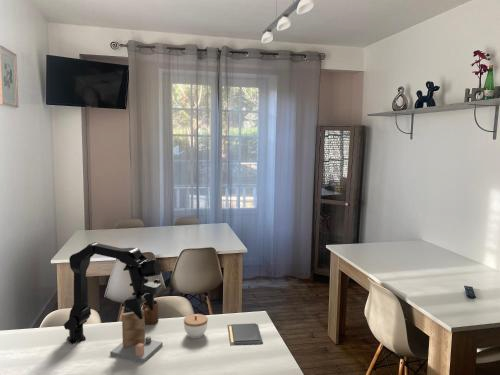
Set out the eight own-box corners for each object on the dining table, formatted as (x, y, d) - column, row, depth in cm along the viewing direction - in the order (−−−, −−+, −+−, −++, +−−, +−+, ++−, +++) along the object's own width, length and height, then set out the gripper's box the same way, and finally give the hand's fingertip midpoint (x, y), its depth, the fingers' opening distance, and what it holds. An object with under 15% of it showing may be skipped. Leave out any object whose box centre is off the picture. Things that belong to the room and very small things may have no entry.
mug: (152, 329, 181) (152, 310, 180) (137, 329, 182) (136, 309, 181) (160, 318, 193) (160, 300, 192) (145, 317, 194) (145, 299, 193)
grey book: (263, 342, 169) (228, 343, 168) (263, 346, 169) (228, 347, 168) (258, 321, 189) (227, 322, 187) (258, 325, 189) (227, 325, 188)
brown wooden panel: (144, 341, 167) (143, 309, 165) (144, 342, 165) (144, 311, 164) (122, 345, 163) (121, 313, 161) (123, 347, 161) (122, 315, 160)
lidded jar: (211, 336, 175) (211, 317, 174) (190, 343, 169) (190, 322, 168) (200, 327, 184) (200, 308, 183) (180, 333, 178) (179, 313, 177)
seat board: (110, 355, 159) (110, 342, 158) (131, 339, 172) (130, 327, 172) (143, 362, 154) (143, 349, 153) (162, 345, 167) (162, 333, 167)
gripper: (143, 283, 150) (153, 321, 151) (165, 268, 168) (173, 303, 169) (119, 287, 153) (128, 325, 154) (142, 272, 171) (151, 306, 172)
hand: (146, 314), depth 162 cm, fingers open, 9 cm apart
